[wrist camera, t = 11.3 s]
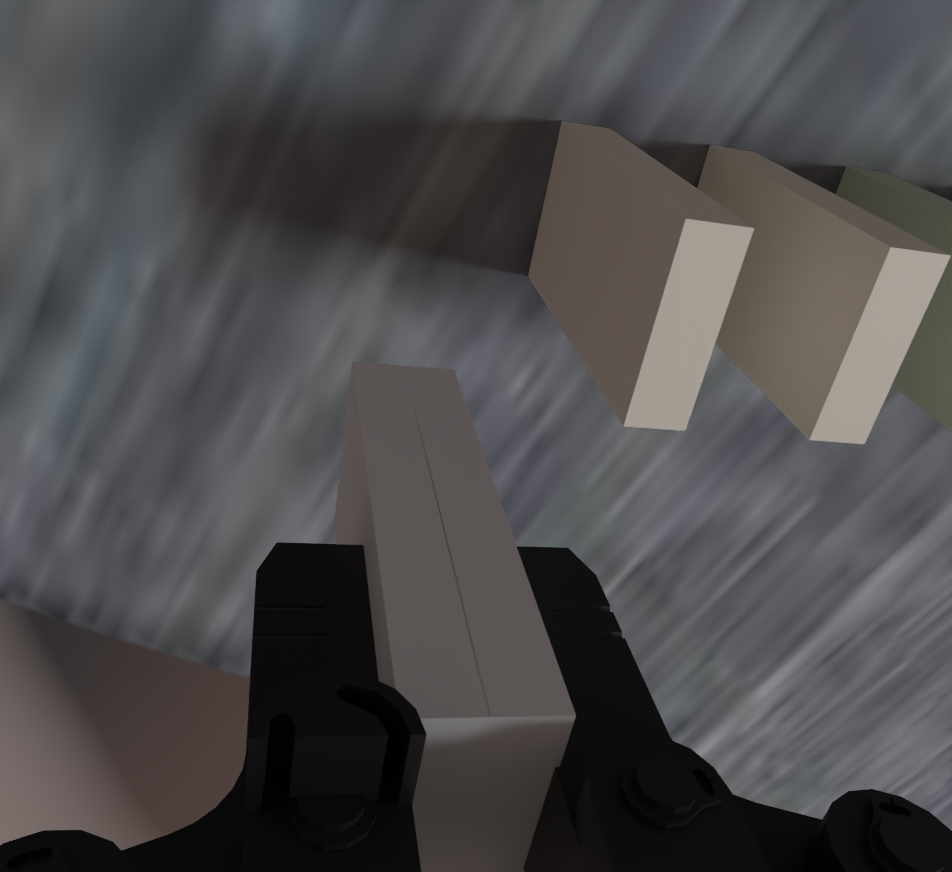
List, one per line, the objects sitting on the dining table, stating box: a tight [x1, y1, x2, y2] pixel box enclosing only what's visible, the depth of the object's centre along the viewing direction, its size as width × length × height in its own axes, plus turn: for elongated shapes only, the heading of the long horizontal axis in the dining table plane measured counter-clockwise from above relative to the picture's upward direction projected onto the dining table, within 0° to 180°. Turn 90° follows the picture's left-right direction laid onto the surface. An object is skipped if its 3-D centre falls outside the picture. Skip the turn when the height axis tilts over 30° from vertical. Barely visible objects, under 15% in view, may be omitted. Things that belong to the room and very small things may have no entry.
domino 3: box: [835, 166, 952, 432], centre depth 26 cm, size 2×5×10 cm, turn 170°
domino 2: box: [697, 145, 951, 444], centre depth 25 cm, size 2×5×10 cm, turn 170°
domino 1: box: [528, 121, 754, 431], centre depth 24 cm, size 2×5×10 cm, turn 170°
